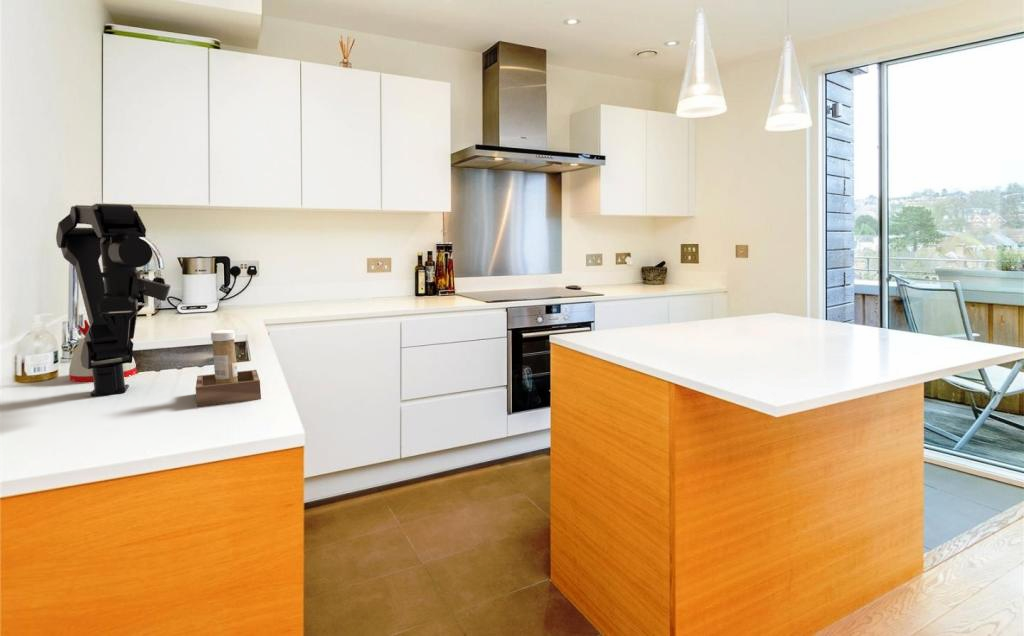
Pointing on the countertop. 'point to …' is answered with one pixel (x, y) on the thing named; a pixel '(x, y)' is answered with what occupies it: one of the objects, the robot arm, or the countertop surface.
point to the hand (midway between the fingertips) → (127, 342)
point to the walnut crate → (227, 389)
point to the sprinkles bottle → (224, 356)
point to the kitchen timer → (86, 375)
